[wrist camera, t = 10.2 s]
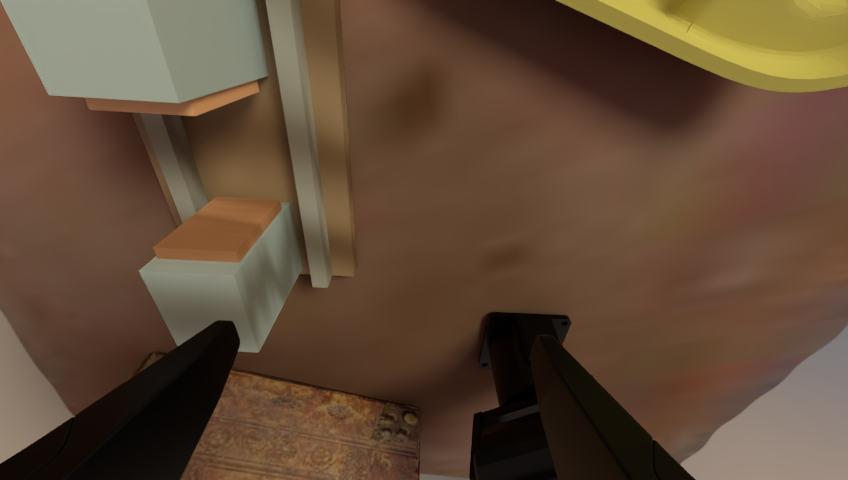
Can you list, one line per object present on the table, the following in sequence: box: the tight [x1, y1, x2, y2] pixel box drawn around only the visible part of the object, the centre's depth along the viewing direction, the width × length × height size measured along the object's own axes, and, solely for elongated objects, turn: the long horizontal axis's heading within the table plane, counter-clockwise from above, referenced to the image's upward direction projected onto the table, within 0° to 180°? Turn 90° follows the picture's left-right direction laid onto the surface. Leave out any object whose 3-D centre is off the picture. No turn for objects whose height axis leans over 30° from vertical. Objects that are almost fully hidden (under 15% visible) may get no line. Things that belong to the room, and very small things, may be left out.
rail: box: [131, 0, 357, 353], centre depth 16 cm, size 18×11×8 cm, turn 177°
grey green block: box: [0, 0, 269, 116], centre depth 12 cm, size 6×4×7 cm
